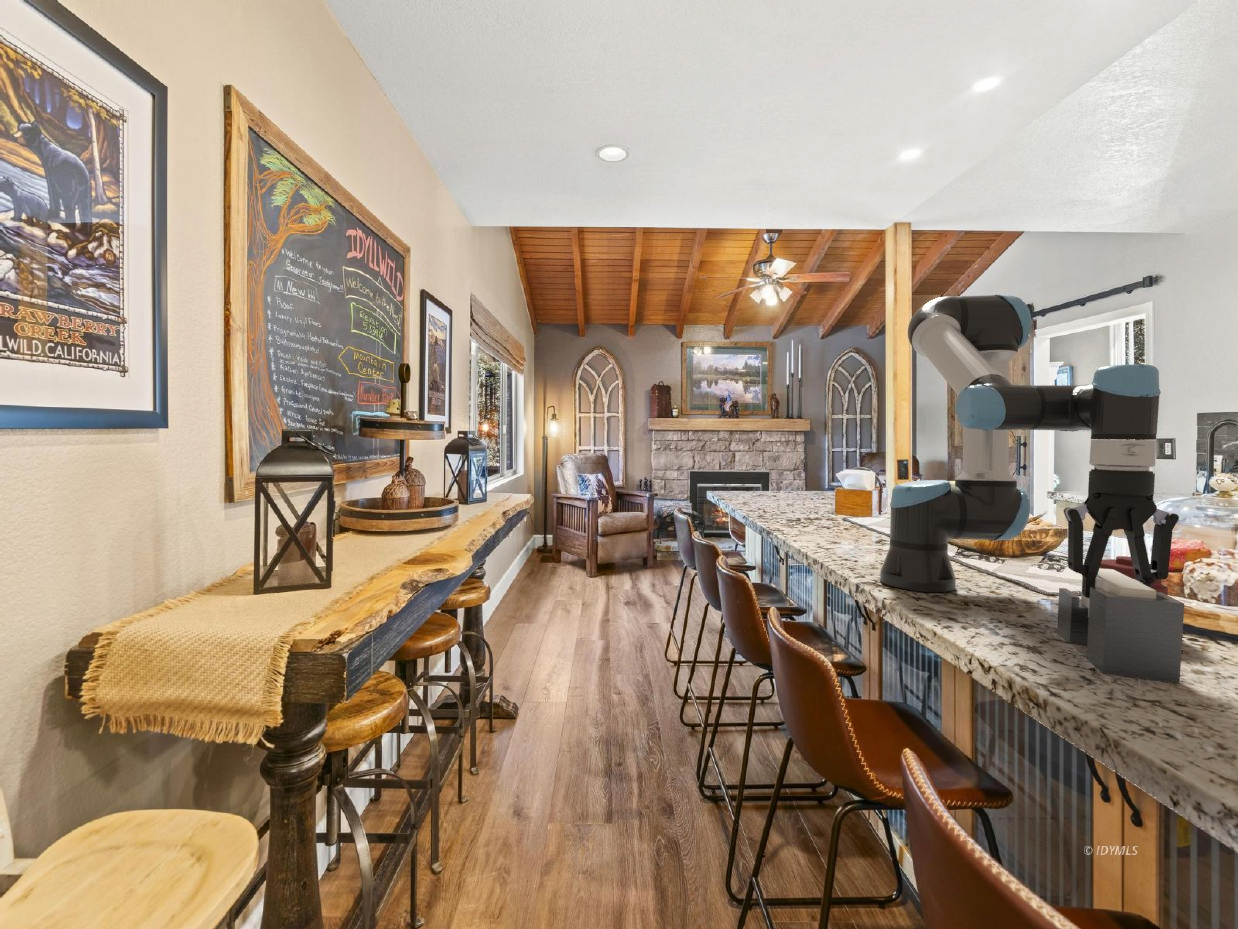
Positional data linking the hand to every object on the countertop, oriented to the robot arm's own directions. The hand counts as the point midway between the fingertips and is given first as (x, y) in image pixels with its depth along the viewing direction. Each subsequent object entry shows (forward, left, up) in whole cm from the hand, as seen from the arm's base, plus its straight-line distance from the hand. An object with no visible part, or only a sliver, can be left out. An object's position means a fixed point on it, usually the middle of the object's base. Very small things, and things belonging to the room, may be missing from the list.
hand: (1113, 621), depth 88 cm
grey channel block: (-7, 0, -5) cm, 9 cm away
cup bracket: (+6, 0, -5) cm, 8 cm away
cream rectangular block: (0, 0, +1) cm, 1 cm away
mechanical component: (-17, +8, -6) cm, 20 cm away
